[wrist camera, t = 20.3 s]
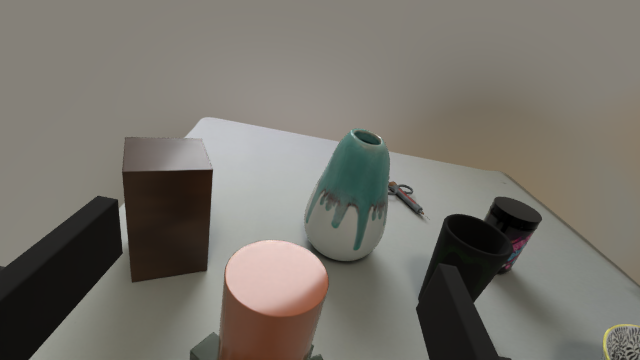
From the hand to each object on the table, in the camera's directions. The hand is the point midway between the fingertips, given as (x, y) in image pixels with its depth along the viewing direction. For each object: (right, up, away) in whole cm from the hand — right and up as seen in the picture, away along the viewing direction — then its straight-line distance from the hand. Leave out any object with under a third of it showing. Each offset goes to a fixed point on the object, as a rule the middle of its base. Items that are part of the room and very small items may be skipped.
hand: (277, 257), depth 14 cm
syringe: (+18, -1, +54) cm, 57 cm away
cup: (+17, -13, +29) cm, 36 cm away
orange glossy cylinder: (-3, -13, +14) cm, 19 cm away
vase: (+4, -7, +36) cm, 37 cm away
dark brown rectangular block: (-17, -6, +27) cm, 33 cm away
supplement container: (+29, -10, +40) cm, 51 cm away
